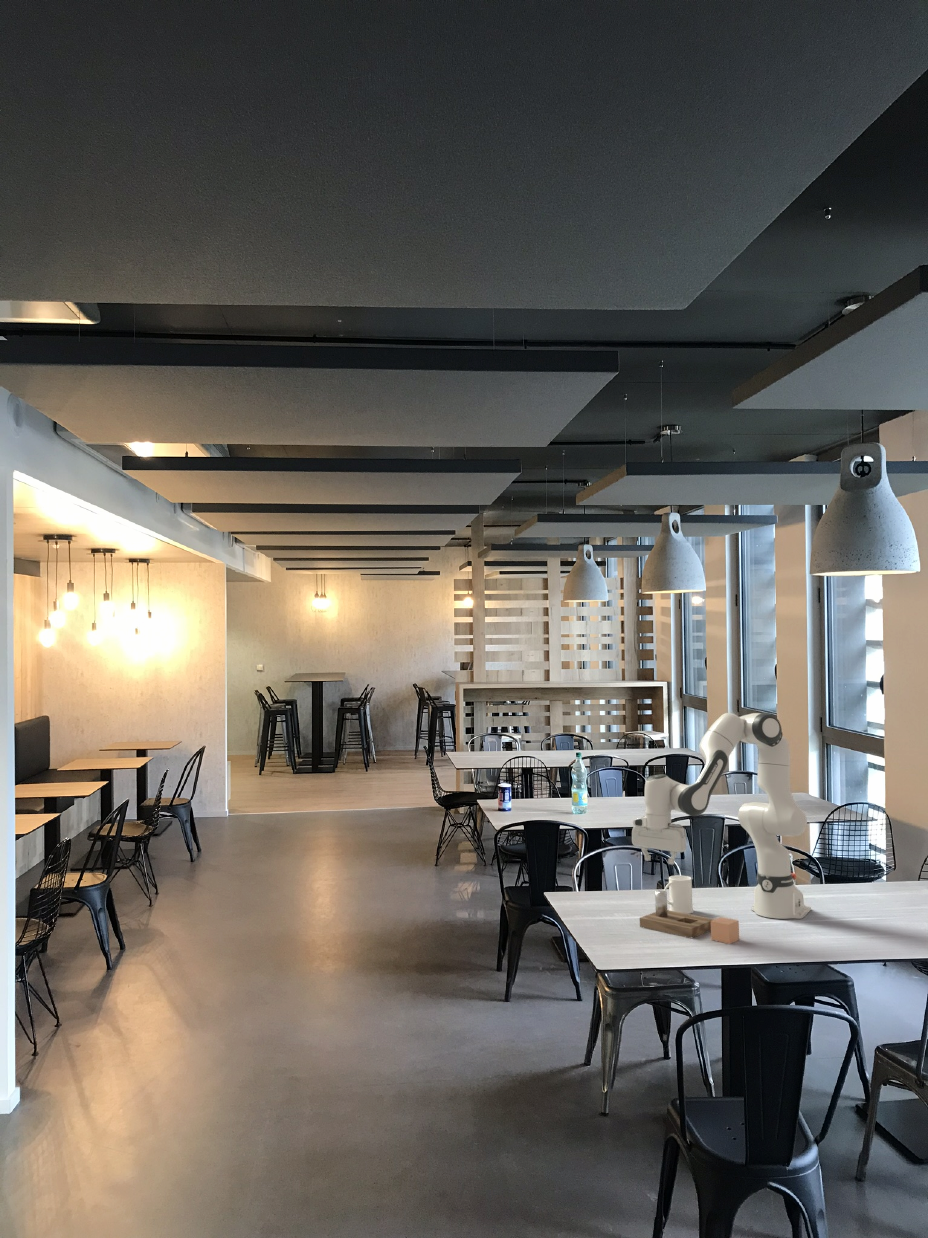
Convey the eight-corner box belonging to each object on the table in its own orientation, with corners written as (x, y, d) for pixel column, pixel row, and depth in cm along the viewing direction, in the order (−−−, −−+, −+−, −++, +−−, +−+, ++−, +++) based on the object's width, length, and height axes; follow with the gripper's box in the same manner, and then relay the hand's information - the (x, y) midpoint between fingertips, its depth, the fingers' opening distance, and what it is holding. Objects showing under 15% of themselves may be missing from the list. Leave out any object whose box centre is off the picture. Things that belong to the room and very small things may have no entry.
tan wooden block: (721, 935, 280) (720, 917, 280) (739, 939, 275) (738, 920, 276) (711, 940, 275) (710, 921, 276) (729, 944, 271) (728, 924, 271)
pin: (659, 913, 297) (659, 890, 298) (669, 915, 295) (669, 891, 295) (653, 915, 295) (652, 892, 295) (663, 917, 292) (662, 893, 292)
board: (664, 918, 302) (663, 909, 303) (715, 928, 288) (714, 919, 288) (639, 926, 292) (639, 917, 292) (691, 938, 278) (691, 928, 278)
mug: (670, 916, 305) (668, 882, 306) (657, 910, 313) (655, 877, 314) (698, 913, 308) (696, 879, 309) (684, 907, 316) (683, 874, 317)
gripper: (689, 824, 292) (690, 865, 291) (639, 818, 307) (640, 857, 305) (679, 826, 288) (680, 868, 286) (628, 820, 302) (629, 860, 301)
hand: (659, 862), depth 296 cm, fingers open, 8 cm apart
